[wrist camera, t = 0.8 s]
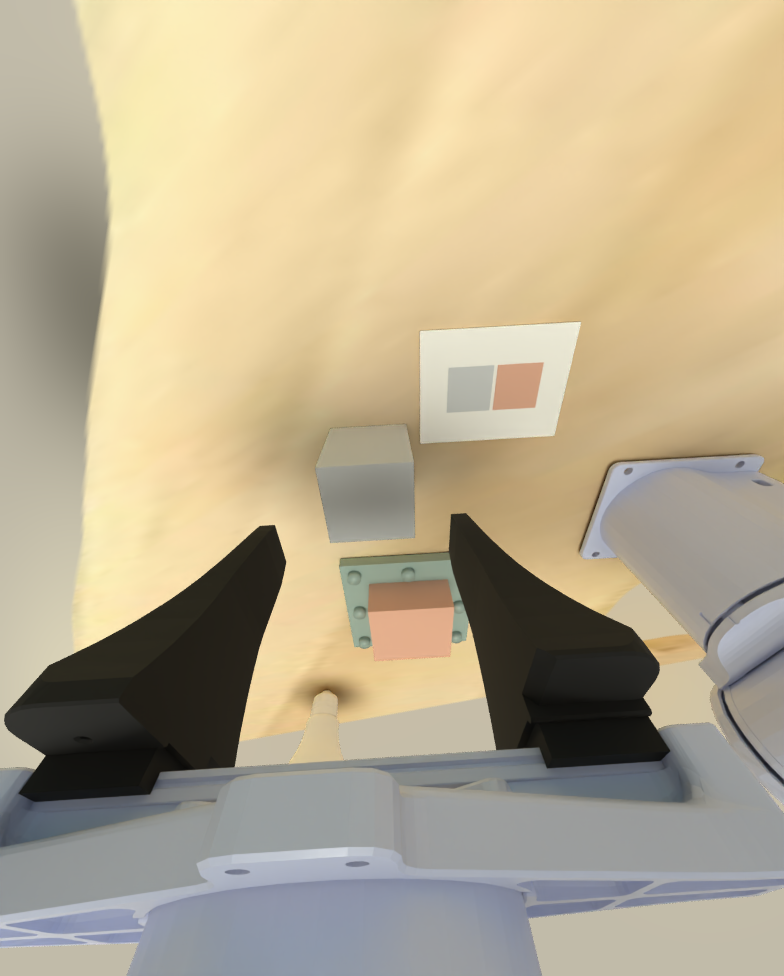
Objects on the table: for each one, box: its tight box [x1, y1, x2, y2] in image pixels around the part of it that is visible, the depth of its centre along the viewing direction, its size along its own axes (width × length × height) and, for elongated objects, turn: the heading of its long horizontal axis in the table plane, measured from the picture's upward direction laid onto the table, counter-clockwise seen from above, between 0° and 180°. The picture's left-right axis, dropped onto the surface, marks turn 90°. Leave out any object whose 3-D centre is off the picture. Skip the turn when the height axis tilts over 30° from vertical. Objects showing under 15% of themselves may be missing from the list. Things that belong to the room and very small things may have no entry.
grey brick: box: [315, 424, 415, 543], centre depth 17 cm, size 4×4×5 cm
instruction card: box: [420, 322, 581, 444], centre depth 17 cm, size 8×6×1 cm
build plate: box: [339, 552, 469, 649], centre depth 25 cm, size 10×10×1 cm
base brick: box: [368, 579, 454, 661], centre depth 24 cm, size 6×6×2 cm
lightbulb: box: [288, 690, 344, 764], centre depth 28 cm, size 6×6×11 cm
